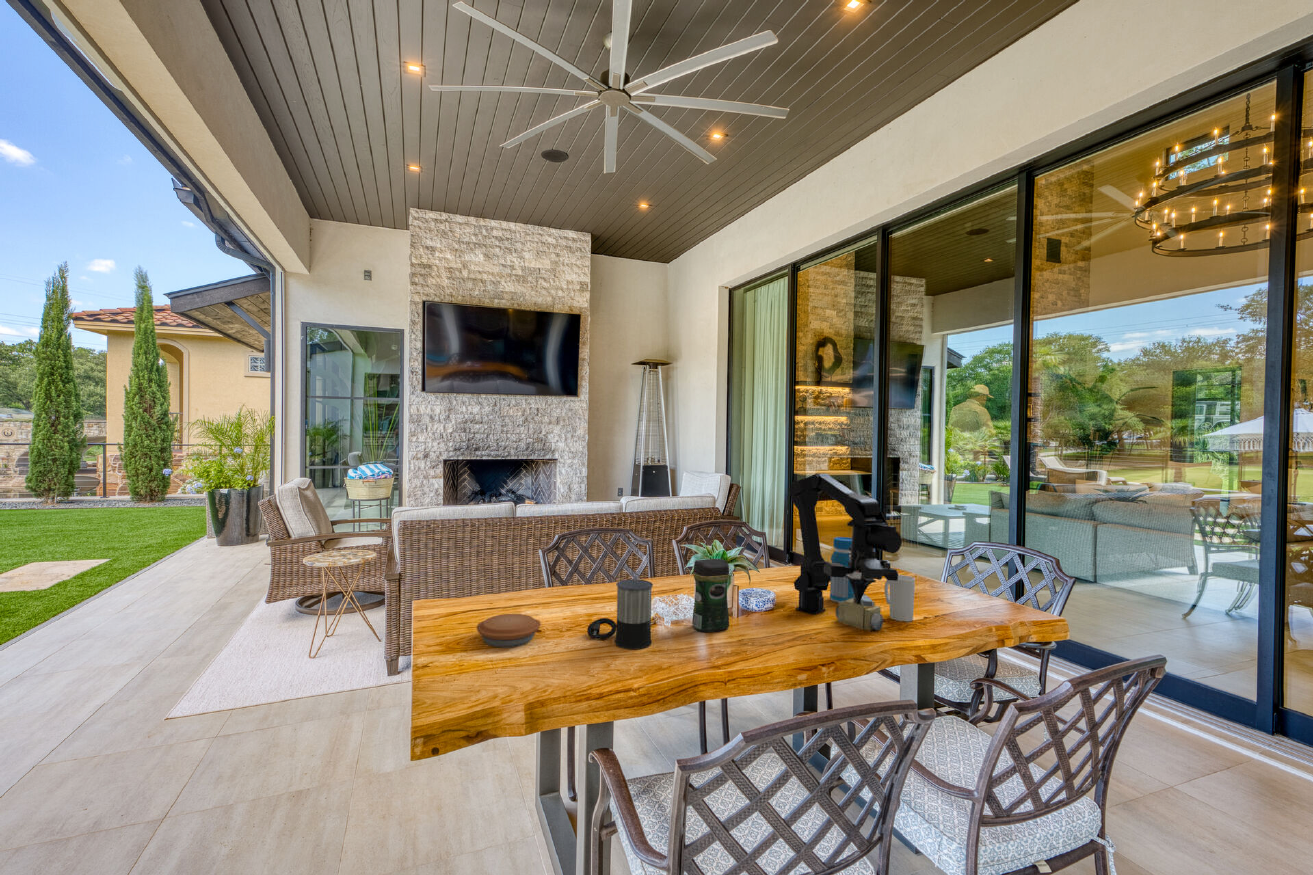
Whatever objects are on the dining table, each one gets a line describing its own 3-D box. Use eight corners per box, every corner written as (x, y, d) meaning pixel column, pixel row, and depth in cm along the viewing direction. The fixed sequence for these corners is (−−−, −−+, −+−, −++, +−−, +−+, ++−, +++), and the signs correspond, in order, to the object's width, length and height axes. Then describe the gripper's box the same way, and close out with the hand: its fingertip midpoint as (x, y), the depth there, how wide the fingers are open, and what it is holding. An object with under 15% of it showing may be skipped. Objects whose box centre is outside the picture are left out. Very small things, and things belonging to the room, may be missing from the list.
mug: (919, 620, 165) (920, 579, 165) (901, 623, 163) (902, 581, 163) (893, 610, 175) (894, 571, 175) (875, 612, 172) (876, 572, 172)
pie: (517, 655, 133) (517, 633, 133) (462, 645, 138) (463, 624, 138) (552, 634, 147) (552, 614, 147) (501, 626, 153) (501, 607, 153)
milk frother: (654, 649, 138) (655, 588, 138) (588, 651, 136) (590, 589, 136) (646, 629, 152) (647, 573, 152) (586, 631, 150) (587, 574, 150)
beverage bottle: (831, 603, 181) (832, 540, 181) (827, 596, 190) (829, 535, 190) (859, 605, 180) (860, 541, 180) (854, 597, 188) (855, 537, 188)
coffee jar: (719, 621, 160) (720, 555, 160) (733, 630, 153) (734, 561, 153) (687, 624, 157) (689, 557, 157) (700, 634, 150) (702, 563, 150)
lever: (861, 610, 152) (862, 600, 152) (852, 598, 163) (852, 589, 163) (874, 610, 151) (874, 601, 151) (863, 599, 162) (864, 590, 162)
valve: (833, 620, 163) (834, 598, 163) (845, 617, 167) (846, 594, 167) (873, 632, 154) (873, 608, 154) (884, 628, 158) (885, 604, 158)
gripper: (842, 549, 145) (837, 610, 145) (911, 553, 147) (907, 614, 147) (824, 541, 156) (820, 598, 156) (889, 545, 158) (885, 601, 158)
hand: (858, 603), depth 154 cm, fingers closed
